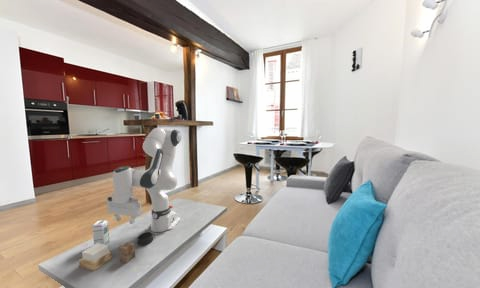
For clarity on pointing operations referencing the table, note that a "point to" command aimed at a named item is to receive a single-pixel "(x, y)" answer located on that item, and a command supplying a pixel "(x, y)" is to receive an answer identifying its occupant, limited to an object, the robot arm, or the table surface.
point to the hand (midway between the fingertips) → (125, 222)
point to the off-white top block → (95, 252)
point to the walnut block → (127, 252)
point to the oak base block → (96, 264)
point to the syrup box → (100, 232)
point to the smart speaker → (145, 238)
